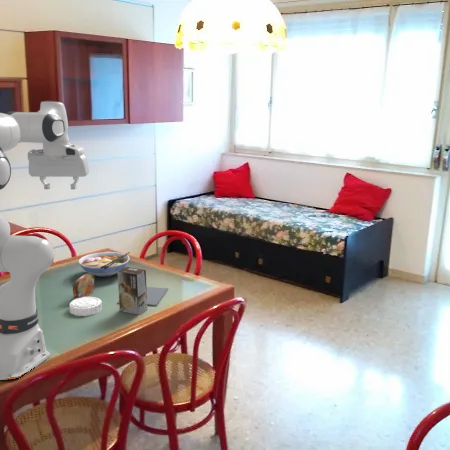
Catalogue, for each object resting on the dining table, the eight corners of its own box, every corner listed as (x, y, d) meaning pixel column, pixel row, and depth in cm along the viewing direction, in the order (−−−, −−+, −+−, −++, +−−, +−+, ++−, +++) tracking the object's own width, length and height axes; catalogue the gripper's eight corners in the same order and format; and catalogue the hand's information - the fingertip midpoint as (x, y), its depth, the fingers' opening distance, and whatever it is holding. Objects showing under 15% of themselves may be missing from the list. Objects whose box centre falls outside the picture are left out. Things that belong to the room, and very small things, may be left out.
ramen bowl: (97, 263, 251) (96, 247, 249) (140, 268, 244) (139, 252, 242) (67, 280, 228) (66, 263, 226) (113, 286, 221) (112, 268, 219)
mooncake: (72, 318, 190) (72, 309, 189) (67, 307, 201) (66, 298, 200) (105, 313, 195) (104, 304, 194) (98, 301, 206) (97, 293, 205)
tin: (79, 303, 204) (78, 283, 202) (72, 302, 204) (70, 282, 202) (96, 289, 218) (95, 270, 216) (89, 289, 219) (88, 270, 217)
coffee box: (148, 309, 198) (147, 269, 195) (138, 315, 193) (137, 274, 189) (128, 305, 202) (126, 266, 198) (118, 311, 197) (116, 271, 193)
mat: (156, 306, 201) (156, 304, 201) (117, 303, 203) (117, 302, 203) (168, 289, 218) (168, 288, 218) (131, 287, 221) (131, 286, 220)
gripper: (23, 150, 174) (27, 190, 178) (82, 150, 173) (85, 191, 177) (30, 148, 181) (35, 187, 184) (88, 148, 179) (91, 187, 183)
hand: (60, 189), depth 181 cm, fingers open, 8 cm apart
